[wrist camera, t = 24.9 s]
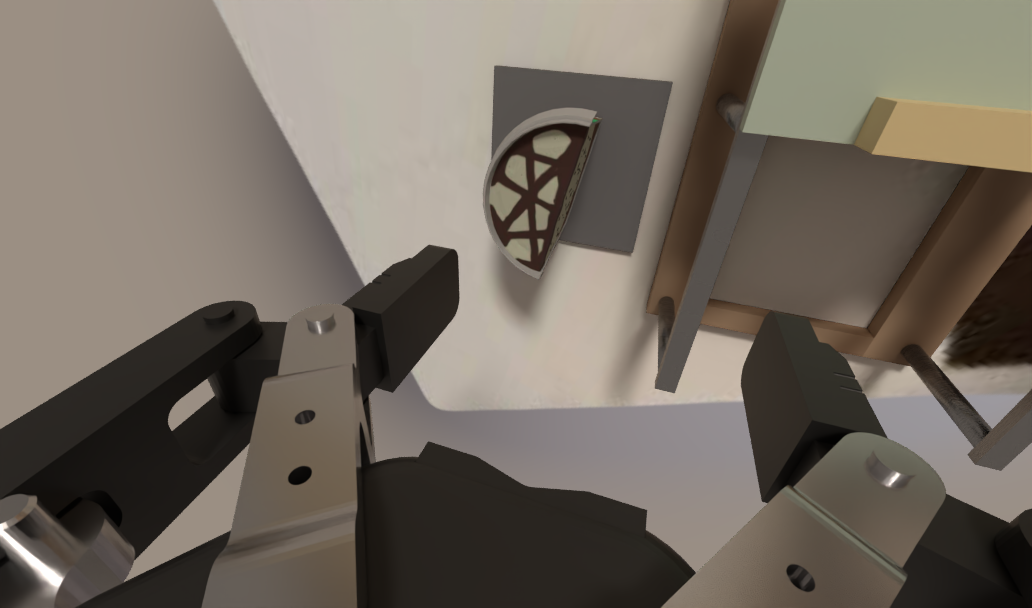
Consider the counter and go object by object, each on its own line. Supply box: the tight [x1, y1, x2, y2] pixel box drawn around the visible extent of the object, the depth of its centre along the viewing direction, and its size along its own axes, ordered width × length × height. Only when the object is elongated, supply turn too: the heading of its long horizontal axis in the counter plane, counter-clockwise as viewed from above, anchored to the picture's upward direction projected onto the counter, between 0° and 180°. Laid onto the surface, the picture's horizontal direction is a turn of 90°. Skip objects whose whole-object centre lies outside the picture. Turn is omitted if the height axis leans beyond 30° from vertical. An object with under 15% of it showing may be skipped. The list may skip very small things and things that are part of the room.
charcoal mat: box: [491, 66, 673, 253], centre depth 37 cm, size 14×14×1 cm
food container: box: [483, 108, 603, 280], centre depth 33 cm, size 12×6×10 cm, turn 165°
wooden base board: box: [646, 0, 1032, 366], centre depth 28 cm, size 23×40×2 cm, turn 176°
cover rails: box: [655, 0, 1032, 471], centre depth 23 cm, size 21×39×11 cm, turn 176°
